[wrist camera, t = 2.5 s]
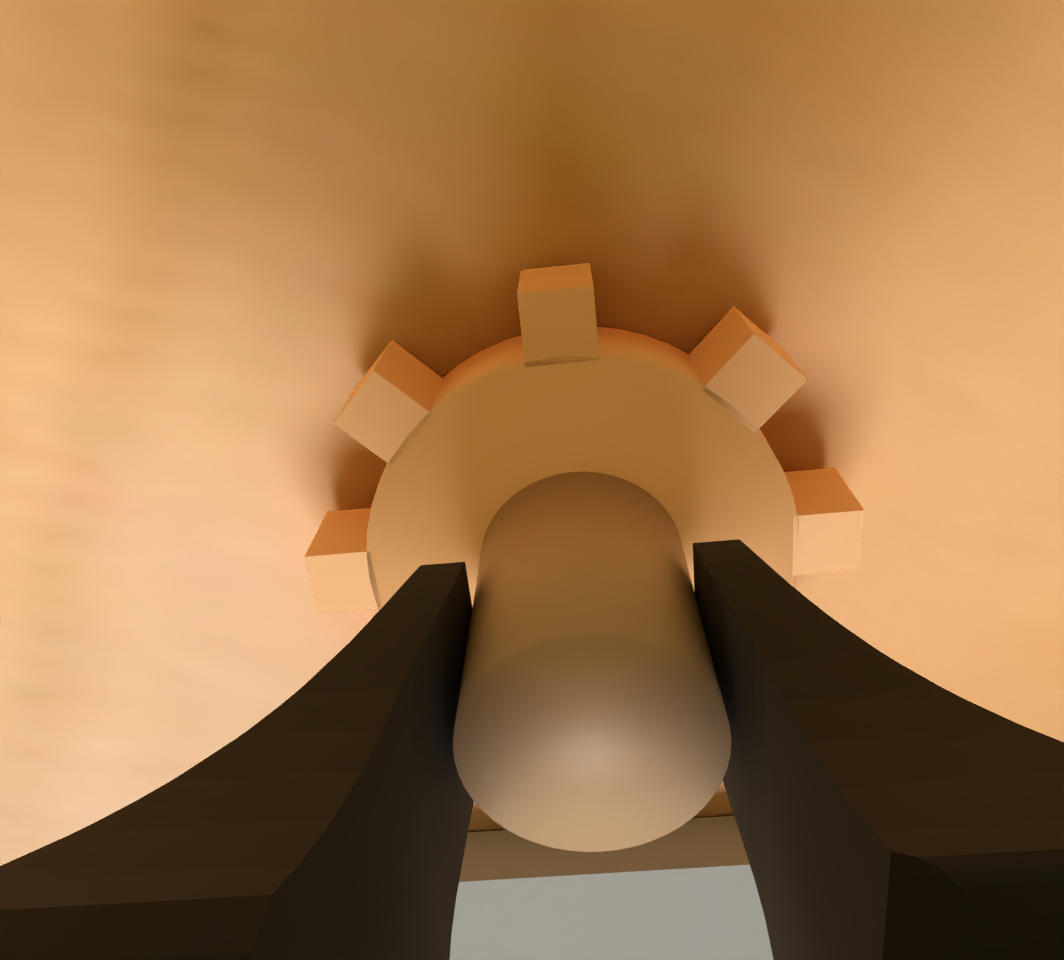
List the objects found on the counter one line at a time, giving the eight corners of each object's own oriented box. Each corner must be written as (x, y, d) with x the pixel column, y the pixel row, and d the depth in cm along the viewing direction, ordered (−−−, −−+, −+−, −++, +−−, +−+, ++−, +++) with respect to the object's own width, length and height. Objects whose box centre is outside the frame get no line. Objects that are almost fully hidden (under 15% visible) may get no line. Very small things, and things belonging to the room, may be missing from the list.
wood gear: (843, 236, 13) (1028, 346, 8) (825, 700, 16) (947, 985, 11) (278, 294, 13) (112, 433, 8) (377, 732, 17) (301, 1017, 12)
